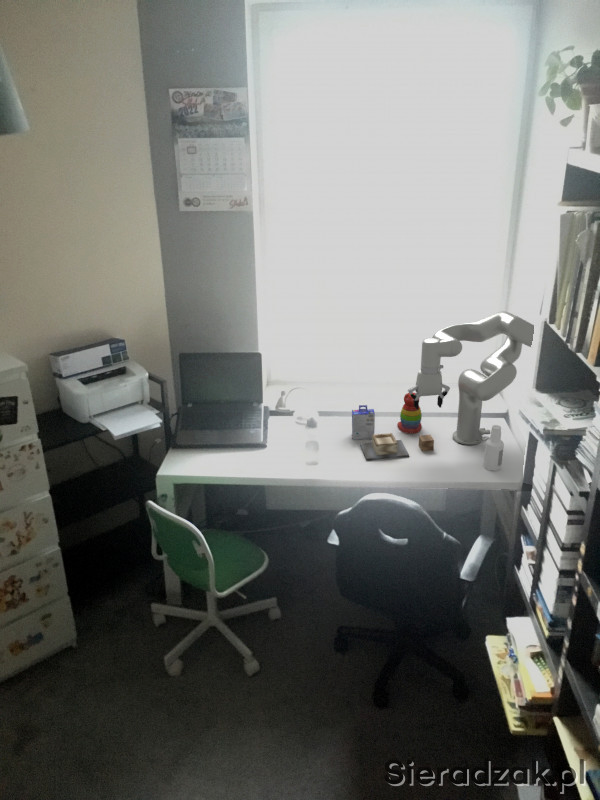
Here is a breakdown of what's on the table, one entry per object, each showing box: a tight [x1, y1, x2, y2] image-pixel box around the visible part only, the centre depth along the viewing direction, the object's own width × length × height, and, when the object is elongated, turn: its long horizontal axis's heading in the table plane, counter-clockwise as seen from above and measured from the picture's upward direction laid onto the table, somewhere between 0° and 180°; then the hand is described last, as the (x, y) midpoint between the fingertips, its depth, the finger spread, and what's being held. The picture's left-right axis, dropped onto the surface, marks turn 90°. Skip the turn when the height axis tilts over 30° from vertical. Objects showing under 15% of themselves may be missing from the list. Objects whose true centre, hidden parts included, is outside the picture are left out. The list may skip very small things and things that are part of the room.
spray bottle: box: [483, 424, 505, 472], centre depth 253 cm, size 7×7×18 cm
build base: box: [359, 432, 410, 462], centre depth 269 cm, size 18×13×6 cm
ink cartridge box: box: [351, 404, 376, 440], centre depth 280 cm, size 10×6×14 cm, turn 89°
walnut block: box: [418, 434, 435, 452], centre depth 271 cm, size 5×5×5 cm
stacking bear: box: [396, 391, 423, 434], centre depth 284 cm, size 11×10×18 cm
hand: (427, 407), depth 263 cm, fingers open, 9 cm apart
